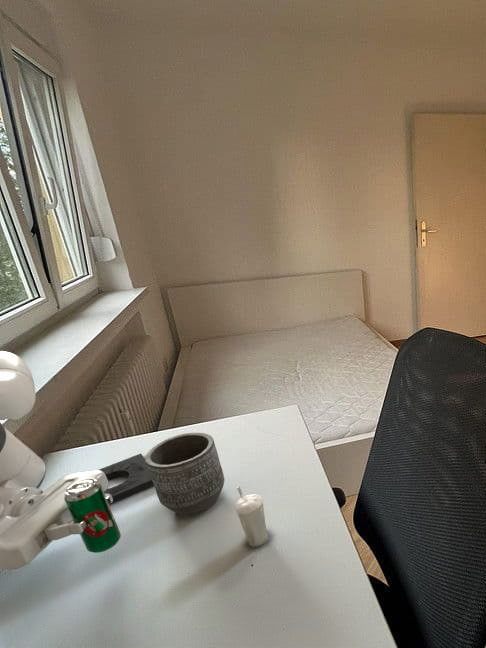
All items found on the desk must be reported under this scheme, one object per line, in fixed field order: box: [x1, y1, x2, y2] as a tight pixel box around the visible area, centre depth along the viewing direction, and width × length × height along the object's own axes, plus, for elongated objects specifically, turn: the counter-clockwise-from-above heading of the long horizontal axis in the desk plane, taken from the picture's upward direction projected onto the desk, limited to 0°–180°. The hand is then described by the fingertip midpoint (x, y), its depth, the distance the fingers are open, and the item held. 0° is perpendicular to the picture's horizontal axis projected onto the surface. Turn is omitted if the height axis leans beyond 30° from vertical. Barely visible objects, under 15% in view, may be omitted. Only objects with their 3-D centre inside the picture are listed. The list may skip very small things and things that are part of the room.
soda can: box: [64, 479, 122, 554], centre depth 73 cm, size 5×5×12 cm
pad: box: [98, 453, 155, 505], centre depth 96 cm, size 15×14×2 cm
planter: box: [144, 432, 226, 517], centre depth 87 cm, size 12×12×13 cm
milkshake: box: [234, 486, 268, 548], centre depth 77 cm, size 4×5×10 cm
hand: (96, 513), depth 73 cm, fingers closed on soda can, 5 cm apart
